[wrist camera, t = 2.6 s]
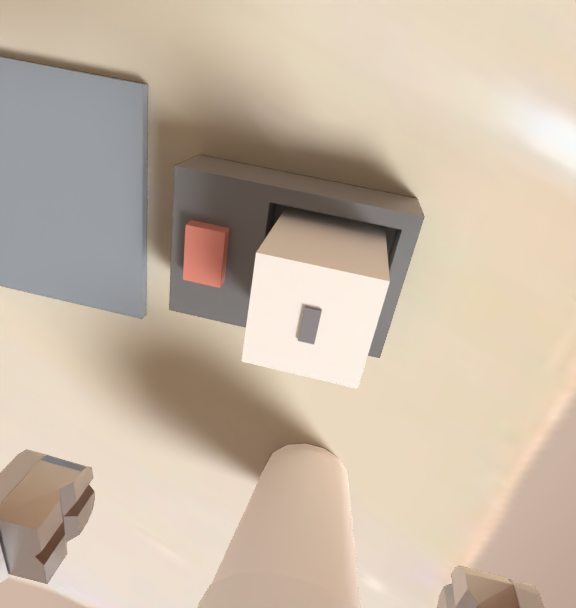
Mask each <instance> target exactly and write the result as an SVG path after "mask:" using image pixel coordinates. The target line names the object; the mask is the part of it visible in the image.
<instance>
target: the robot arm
mask: <svg viewBox="0 0 576 608" xmlns="http://www.w3.org/2000/svg"><path fill="white" fill-rule="evenodd" d="M92 479H93V472H92V468H91V467H87V466H84V465H80V464H77V463H73V462H70V461H66V460H63V459H59V458H56V457H52V456H49V455H46V454H42V453H38V452H35V451H31V450H27V449H26V450H25V451H23V452H21V453H20V454H18V455H17V456H16V457H15V458H14V459H13V460H12V461H11V462H10V463H9V464H8V465H7V466H6V467H5V468H4V469H3V471H2V472H1V473H0V583H1V582H2V581H4V580H5V579H6V578H8V577H9V574H11V575H15V576H18V577H22V578H26V579H30V580H34V581H38V582H42V583H45V584H48V582H49V581H50V579H51V578H52V576H53V575H54V573H55V572H56V570H57V568H58V567H59V565H60V564H61V562H62V561H63V559H64V558H65V556H66V555H67V542H68V541H69V540H71V539H73V538H74V537H76V536H78V535H79V534H80V533H81V531H82V530H83V528H84V527H85V525H86V523H87V522H88V519H89V517H90V514H91V512H92V510H93V506H94V500H95V493H94V490H93V489H92V488H91V486H90V485H89V483H90V482H91V480H92ZM451 577H452V584H449V585H447V586H444V588H443V589H442V591H441V593H440V595H439V600H438V605H437V608H544V606H543V603H542V600H541V597H540V594H539V592H538V590H537V589H536V587H535V586H533V585H531V584H527V583H523V582H520V581H516V580H511V579H507V578H506V577H503V576H499V575H495V574H491V573H487V572H483V571H479V570H475V569H471V568H467V567H463V566H458V567H455V569H454V571H453V572H452V574H451Z"/></svg>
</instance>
